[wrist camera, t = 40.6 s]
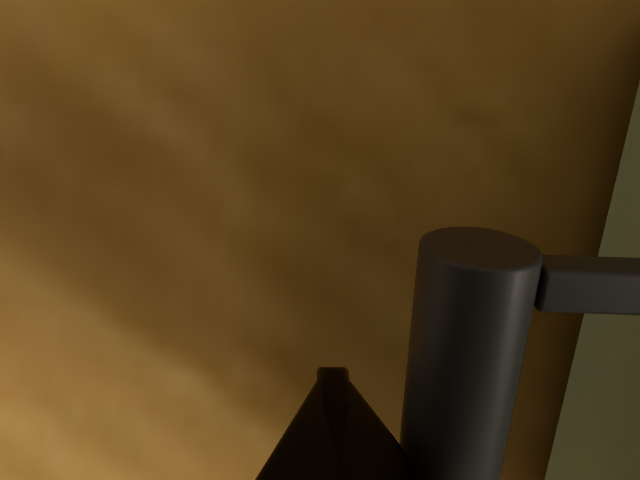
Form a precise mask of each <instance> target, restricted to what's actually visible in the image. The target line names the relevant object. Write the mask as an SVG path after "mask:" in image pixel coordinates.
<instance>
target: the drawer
mask: <svg viewBox="0 0 640 480" xmlns="http://www.w3.org/2000/svg"><path fill="white" fill-rule="evenodd" d="M533 307H535V308H536V309H537V310H538V311H541V312H557V313H584V316H583V321H582V325H581V329H580V333H579V337H578V342H577V346H576V350H575V354H574V358H573V363H572V367H571V371H570V375H569V379H568V384H567V388H566V392H565V396H564V400H563V404H562V409H561V413H560V417H559V421H558V425H557V430H556V434H555V438H554V442H553V446H552V451H551V455H550V459H549V463H548V467H547V472H546V476H545V480H640V81H639V86H638V90H637V94H636V98H635V102H634V107H633V111H632V115H631V119H630V123H629V128H628V132H627V136H626V140H625V144H624V149H623V153H622V157H621V161H620V165H619V170H618V174H617V178H616V182H615V186H614V190H613V195H612V199H611V203H610V207H609V211H608V216H607V220H606V224H605V228H604V232H603V237H602V241H601V245H600V249H599V253H598V256H566V255H542V254H541V252H540V250H539V249H538V248H537V247H536V246H535V245H533V244H532V243H530V242H528V241H526V240H524V239H522V238H520V237H517V236H514V235H512V234H508V233H505V232H501V231H496V230H491V229H485V228H477V227H448V228H441V229H436V230H433V231H430V232H428V233H426V234H425V235H424V236H423V237H422V238H421V240H420V242H419V248H418V258H417V269H416V279H415V289H414V299H413V310H412V320H411V330H410V340H409V351H408V361H407V371H406V381H405V392H404V402H403V412H402V422H401V433H400V443H399V444H400V445H401V447H402V448H403V449H404V450H405V452H406V453H407V454H408V456H409V457H410V458H411V459H412V461H413V462H414V463H415V465H416V466H417V467H418V468H419V470H420V471H421V472H422V474H423V475H424V476H425V477H426V479H427V480H500V475H501V470H502V465H503V460H504V455H505V450H506V445H507V440H508V434H509V429H510V424H511V419H512V414H513V409H514V404H515V399H516V394H517V388H518V383H519V378H520V373H521V368H522V363H523V358H524V353H525V348H526V343H527V337H528V332H529V327H530V322H531V317H532V312H533Z"/></svg>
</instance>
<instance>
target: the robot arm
mask: <svg viewBox="0 0 640 480" xmlns="http://www.w3.org/2000/svg"><path fill="white" fill-rule="evenodd" d="M255 480H427V479H426V477H425V476H424V475H423V474H422V472H421V471H420V470H419V468H418V467H417V466H416V465H415V463H414V462H413V461H412V459H411V458H410V457H409V456H408V454H407V453H406V452H405V450H404V449H403V448H402V447H401V445H400V444H399V443H398V442H397V440H396V439H395V438H394V436H393V435H392V434H391V433H390V431H389V430H388V429H387V427H386V426H385V425H384V424H383V422H382V421H381V420H380V418H379V417H378V416H377V415H376V413H375V412H374V411H373V410H372V408H371V407H370V406H369V404H368V403H367V402H366V401H365V399H364V398H363V397H362V395H361V394H360V393H359V392H358V390H357V389H356V388H355V386H354V385H353V384H352V383H351V381H350V380H349V373H348V370H347V368H345V367H319V368H318V369H317V381H316V383H315V385H314V386H313V388H312V389H311V391H310V393H309V394H308V396H307V397H306V399H305V401H304V402H303V404H302V405H301V407H300V409H299V410H298V412H297V414H296V415H295V417H294V418H293V420H292V422H291V423H290V425H289V426H288V428H287V430H286V431H285V433H284V434H283V436H282V438H281V439H280V441H279V442H278V444H277V446H276V447H275V449H274V450H273V452H272V454H271V455H270V457H269V458H268V460H267V462H266V463H265V465H264V466H263V468H262V470H261V471H260V473H259V475H258V476H257V478H256V479H255Z"/></svg>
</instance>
